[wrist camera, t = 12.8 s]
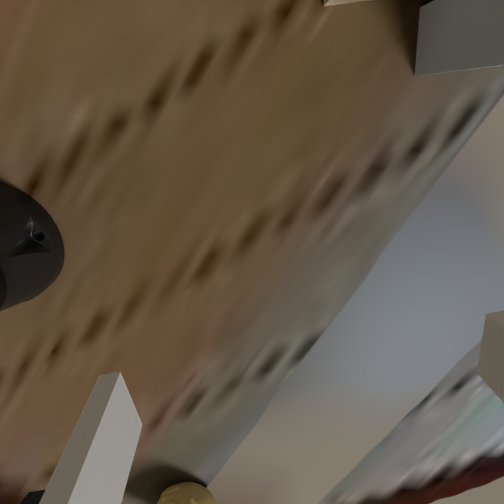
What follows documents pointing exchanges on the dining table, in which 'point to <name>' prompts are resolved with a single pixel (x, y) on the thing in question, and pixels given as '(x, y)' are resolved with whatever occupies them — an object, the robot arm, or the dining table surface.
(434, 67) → the grey board
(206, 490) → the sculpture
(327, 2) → the maple rail
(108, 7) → the dining table surface
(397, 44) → the dining table surface
